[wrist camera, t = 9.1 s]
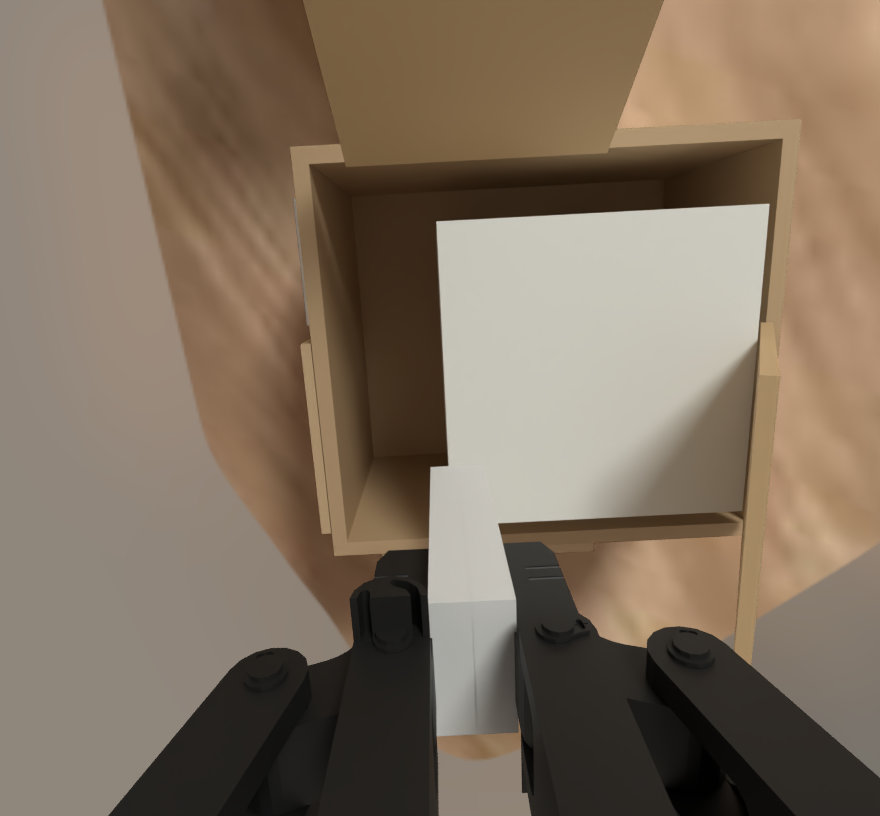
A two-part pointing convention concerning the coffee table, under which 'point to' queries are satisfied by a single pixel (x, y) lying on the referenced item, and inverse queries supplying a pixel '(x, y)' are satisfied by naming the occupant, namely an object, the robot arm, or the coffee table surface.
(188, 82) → the coffee table surface
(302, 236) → the carton
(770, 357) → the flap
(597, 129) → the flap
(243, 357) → the coffee table surface
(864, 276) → the coffee table surface
